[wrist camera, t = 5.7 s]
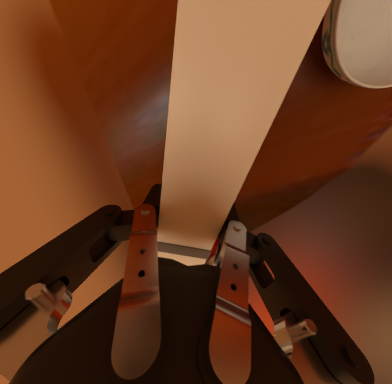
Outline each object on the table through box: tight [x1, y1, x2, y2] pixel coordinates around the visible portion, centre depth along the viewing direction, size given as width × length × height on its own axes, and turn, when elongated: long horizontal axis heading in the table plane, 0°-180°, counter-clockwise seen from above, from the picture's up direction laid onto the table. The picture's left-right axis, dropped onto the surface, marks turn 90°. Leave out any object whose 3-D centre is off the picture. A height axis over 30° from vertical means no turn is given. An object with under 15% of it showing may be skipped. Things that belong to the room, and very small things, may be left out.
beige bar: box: [157, 0, 331, 266], centre depth 12 cm, size 22×4×4 cm, turn 168°
